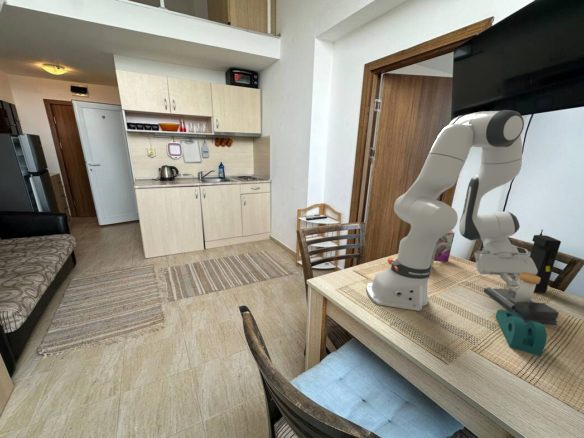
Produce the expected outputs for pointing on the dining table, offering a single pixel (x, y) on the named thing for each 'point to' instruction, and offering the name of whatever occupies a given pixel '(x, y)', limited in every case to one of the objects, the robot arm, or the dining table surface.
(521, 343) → the bracket
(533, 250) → the portable radio
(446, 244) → the wafer cookie box
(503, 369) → the dining table surface
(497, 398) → the dining table surface
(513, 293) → the mount
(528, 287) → the knob
